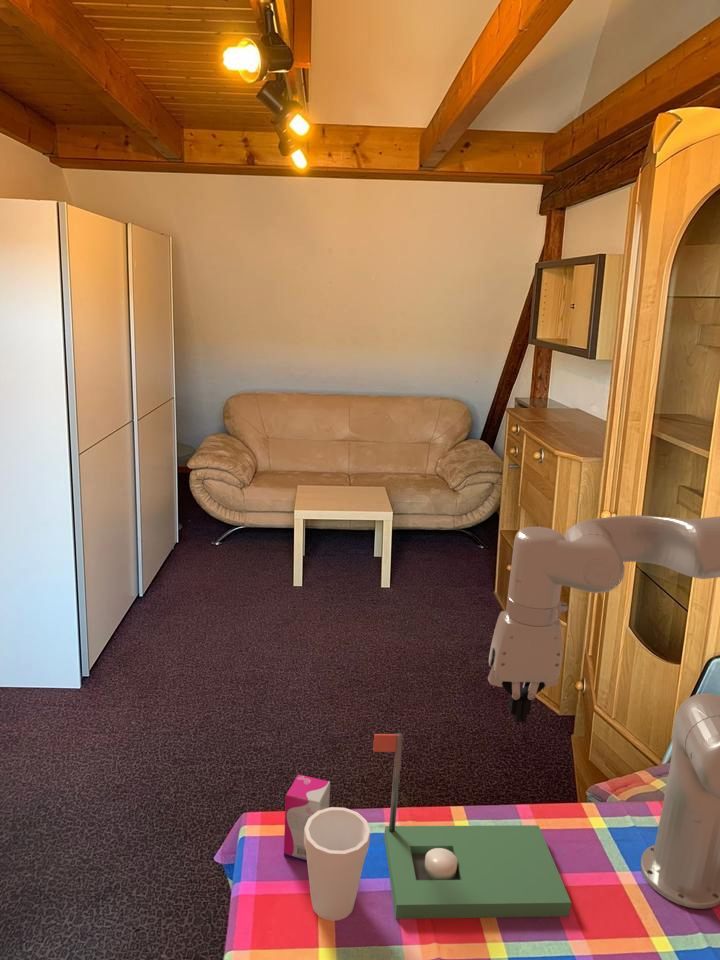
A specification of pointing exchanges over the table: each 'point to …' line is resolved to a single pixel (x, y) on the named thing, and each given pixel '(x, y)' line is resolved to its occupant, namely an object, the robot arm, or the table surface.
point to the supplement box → (302, 812)
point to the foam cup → (335, 859)
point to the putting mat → (470, 866)
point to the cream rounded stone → (440, 864)
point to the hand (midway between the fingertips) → (518, 717)
